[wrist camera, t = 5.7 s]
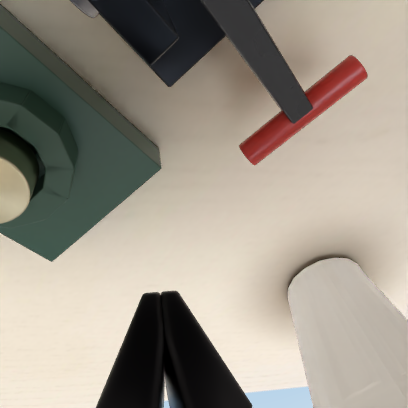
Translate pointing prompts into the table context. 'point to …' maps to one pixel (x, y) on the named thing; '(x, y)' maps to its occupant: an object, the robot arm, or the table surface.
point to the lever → (279, 77)
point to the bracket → (161, 31)
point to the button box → (65, 144)
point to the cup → (349, 337)
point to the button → (16, 176)
